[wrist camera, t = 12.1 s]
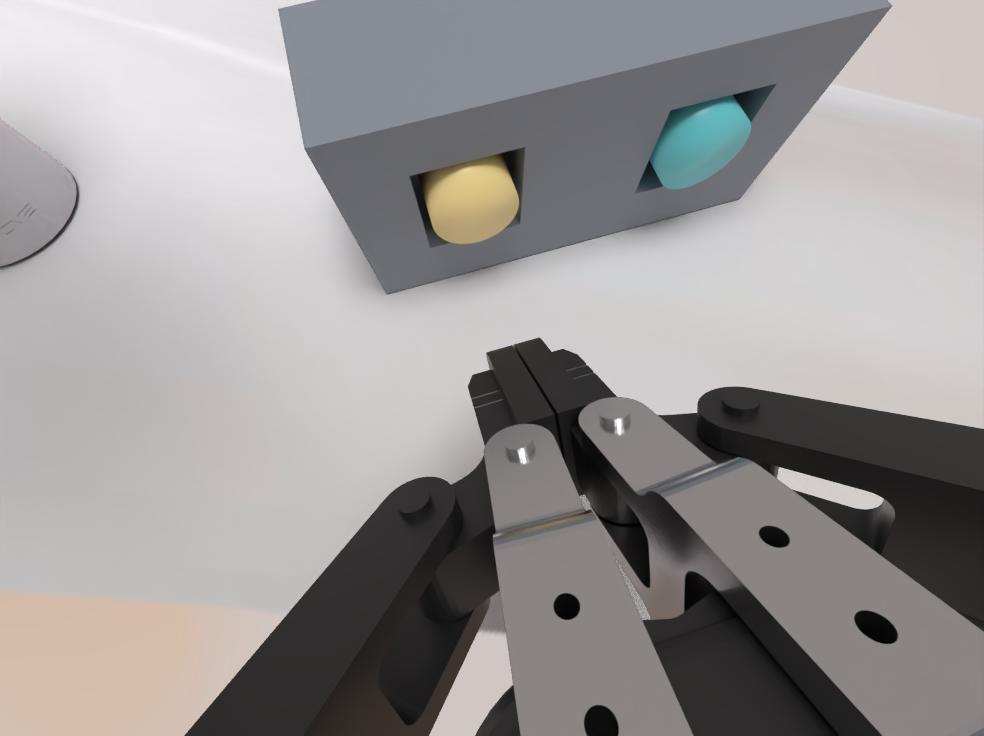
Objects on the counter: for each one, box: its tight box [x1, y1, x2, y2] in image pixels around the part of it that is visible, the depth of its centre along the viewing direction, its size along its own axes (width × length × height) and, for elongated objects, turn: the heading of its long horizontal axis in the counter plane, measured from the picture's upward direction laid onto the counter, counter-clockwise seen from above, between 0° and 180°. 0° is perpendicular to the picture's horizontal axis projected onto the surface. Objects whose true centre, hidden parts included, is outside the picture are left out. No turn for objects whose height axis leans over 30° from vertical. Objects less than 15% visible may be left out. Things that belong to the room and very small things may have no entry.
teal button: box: [649, 95, 751, 189], centre depth 21 cm, size 3×4×4 cm
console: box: [278, 0, 892, 294], centre depth 22 cm, size 8×24×11 cm, turn 106°
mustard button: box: [417, 153, 519, 244], centre depth 20 cm, size 3×4×4 cm
